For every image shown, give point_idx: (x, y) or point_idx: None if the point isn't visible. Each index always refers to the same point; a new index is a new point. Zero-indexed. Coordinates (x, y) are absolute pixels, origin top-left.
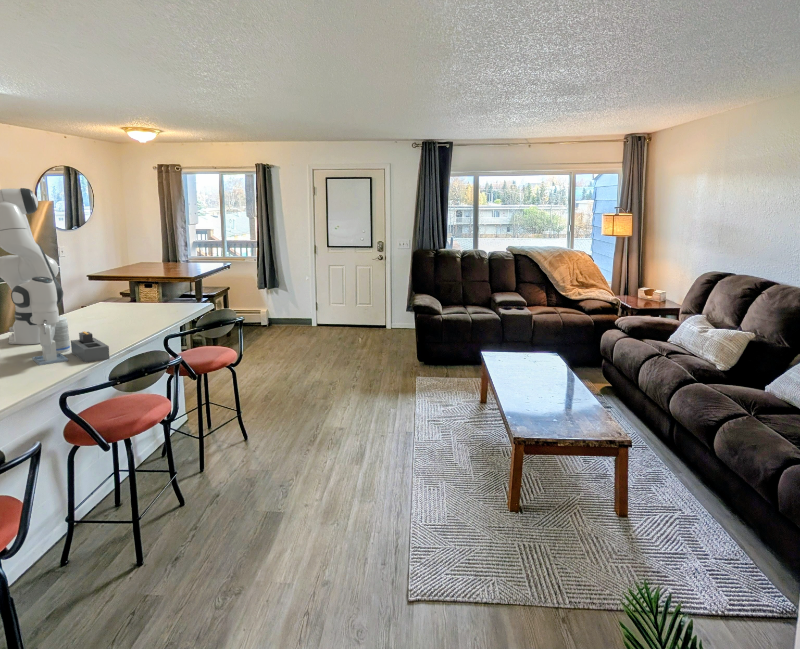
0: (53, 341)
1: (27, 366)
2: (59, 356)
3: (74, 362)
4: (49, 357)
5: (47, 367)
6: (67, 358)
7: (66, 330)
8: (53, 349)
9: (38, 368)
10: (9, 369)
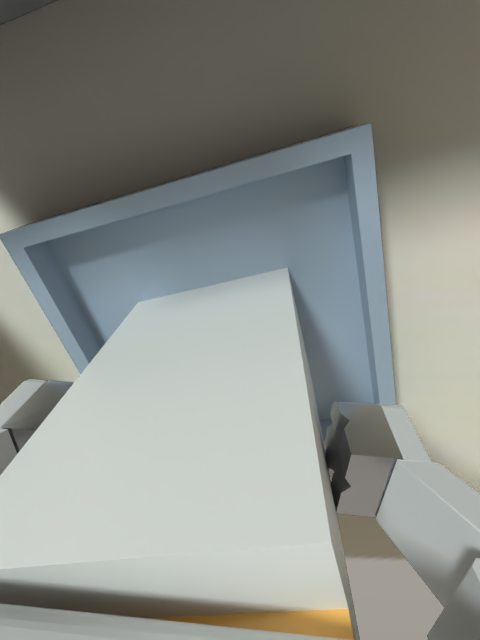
0: (273, 573)
1: (331, 473)
2: (72, 240)
3: (431, 13)
4: (308, 369)
5: (476, 351)
6: (366, 127)
7: None
8: (311, 397)
9: (459, 414)
10: (358, 547)
